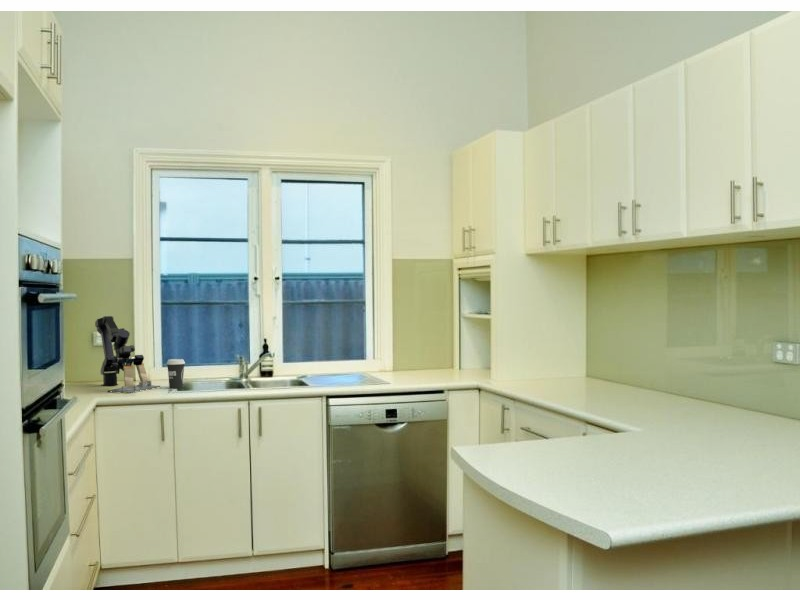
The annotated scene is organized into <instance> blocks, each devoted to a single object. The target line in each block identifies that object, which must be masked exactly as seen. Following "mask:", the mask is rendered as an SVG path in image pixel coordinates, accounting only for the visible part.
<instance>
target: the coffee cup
mask: <svg viewBox="0 0 800 600" xmlns="http://www.w3.org/2000/svg"><path fill="white" fill-rule="evenodd" d="M185 364H186V362H185V360H184V359H183V358H171V359H168V360H167V362H166V365H167V375H168V384H169V385H168V386H169V389H174V390H178V389H182V388H183V385H184V384H183V383H184V373H185V372H184V371H185Z"/></svg>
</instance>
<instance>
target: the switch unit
mask: <svg viewBox="0 0 800 600" xmlns="http://www.w3.org/2000/svg"><path fill="white" fill-rule="evenodd" d="M157 387H160V388H161V385H152V380H148V382H145V383H144V382H141V381H139V382H138V384H134V386H130V387H125V385H121V387H119V388H115V389H108V390H106V392H107V391H112V392H111V393H114V392H127V393H126V394H131V393H130V392H134V393H136V392H135V391H139V392H141V391H140V390H144V391H147V390H146V389H149V390H153V389H152V388H155V389H158V388H157Z"/></svg>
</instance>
